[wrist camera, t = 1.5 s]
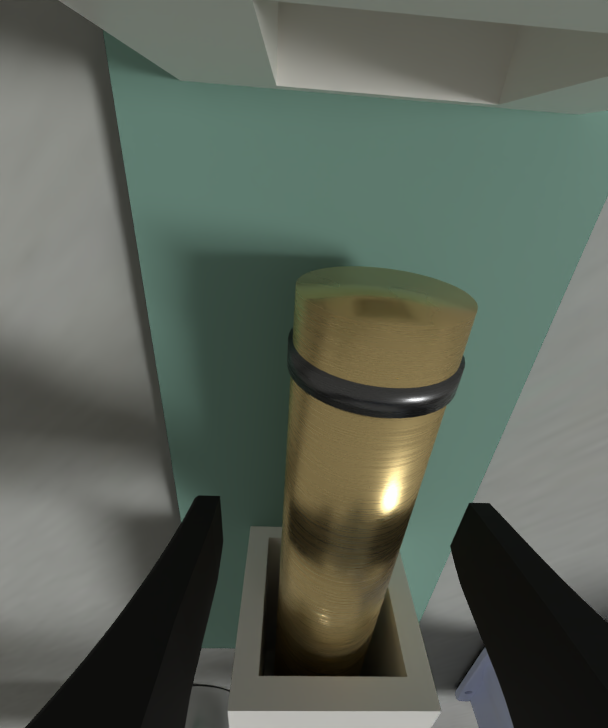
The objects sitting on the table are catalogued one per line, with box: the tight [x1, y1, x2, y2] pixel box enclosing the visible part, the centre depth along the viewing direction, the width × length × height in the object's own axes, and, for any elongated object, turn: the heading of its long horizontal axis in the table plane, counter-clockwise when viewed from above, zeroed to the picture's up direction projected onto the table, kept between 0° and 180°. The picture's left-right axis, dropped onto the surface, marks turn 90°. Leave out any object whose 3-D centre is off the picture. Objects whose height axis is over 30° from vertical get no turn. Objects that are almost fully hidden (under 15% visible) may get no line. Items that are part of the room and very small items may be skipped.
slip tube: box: [274, 266, 478, 677], centre depth 13 cm, size 21×4×4 cm, turn 176°
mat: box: [103, 30, 608, 648], centre depth 13 cm, size 32×12×1 cm, turn 176°
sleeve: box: [228, 526, 442, 728], centre depth 16 cm, size 11×6×6 cm, turn 176°
